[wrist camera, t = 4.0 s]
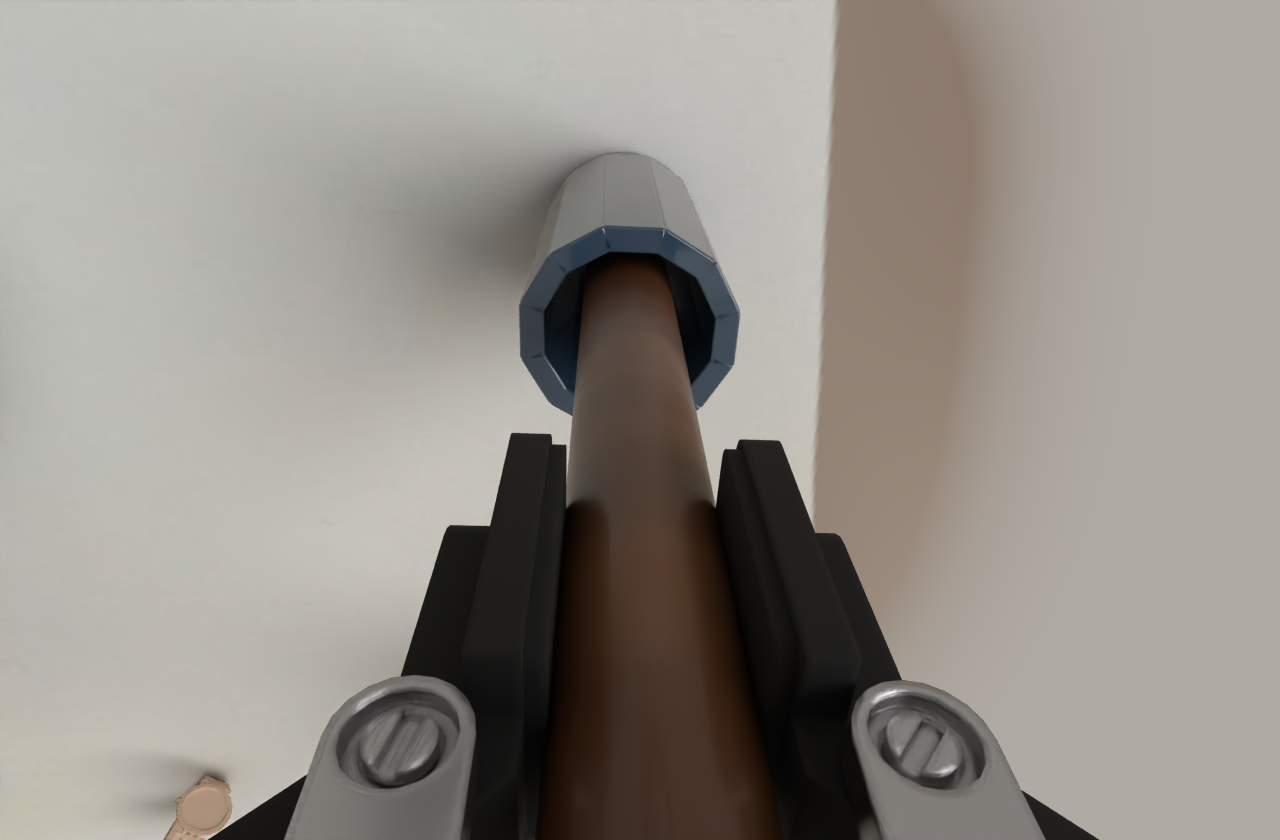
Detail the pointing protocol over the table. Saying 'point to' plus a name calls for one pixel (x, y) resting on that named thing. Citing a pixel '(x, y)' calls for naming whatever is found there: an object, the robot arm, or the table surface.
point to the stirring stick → (645, 598)
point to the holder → (633, 223)
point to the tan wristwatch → (201, 811)
